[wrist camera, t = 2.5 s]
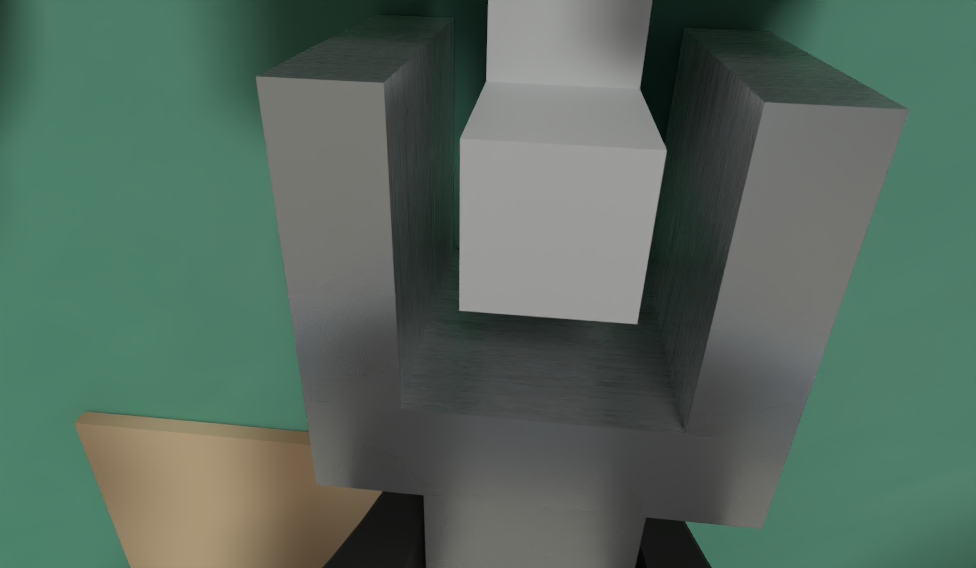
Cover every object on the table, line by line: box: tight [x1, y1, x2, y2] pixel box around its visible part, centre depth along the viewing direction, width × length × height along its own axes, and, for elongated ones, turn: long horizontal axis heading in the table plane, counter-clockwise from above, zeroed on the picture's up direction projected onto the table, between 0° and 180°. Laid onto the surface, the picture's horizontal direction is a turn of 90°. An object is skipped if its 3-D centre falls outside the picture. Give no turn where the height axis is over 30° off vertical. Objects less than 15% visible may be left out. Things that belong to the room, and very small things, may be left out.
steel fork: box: [255, 15, 909, 568], centre depth 11 cm, size 6×14×4 cm, turn 179°
